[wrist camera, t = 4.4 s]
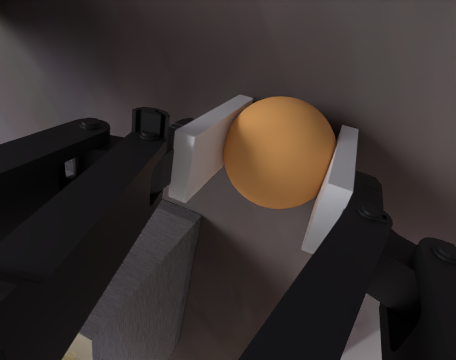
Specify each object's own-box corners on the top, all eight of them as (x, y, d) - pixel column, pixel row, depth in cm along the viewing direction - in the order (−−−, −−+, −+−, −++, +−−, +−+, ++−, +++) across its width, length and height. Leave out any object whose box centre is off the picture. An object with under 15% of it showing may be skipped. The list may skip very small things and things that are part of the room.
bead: (256, 75, 16) (215, 93, 12) (357, 104, 14) (353, 135, 10) (236, 163, 18) (196, 204, 14) (321, 194, 17) (305, 248, 13)
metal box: (19, 141, 25) (-202, 213, 15) (201, 215, 21) (60, 375, 11) (39, 268, 32) (-104, 373, 22) (178, 341, 28) (79, 507, 18)
